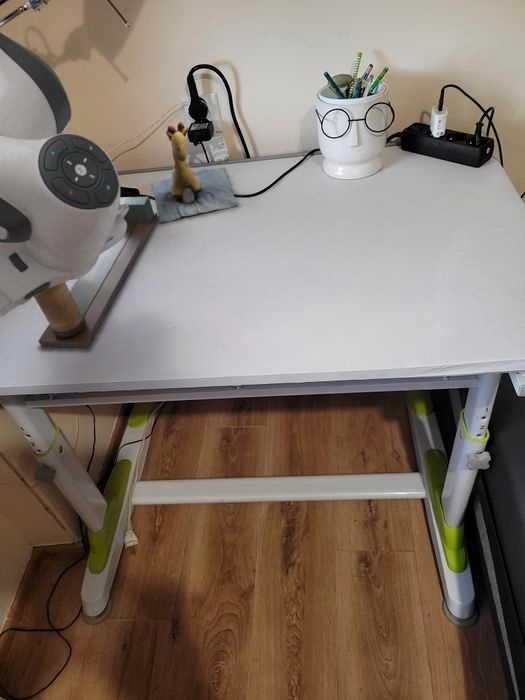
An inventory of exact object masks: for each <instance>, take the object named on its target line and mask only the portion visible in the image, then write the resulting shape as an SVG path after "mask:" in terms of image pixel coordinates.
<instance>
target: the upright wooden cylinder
mask: <svg viewBox="0 0 525 700" xmlns="http://www.w3.org/2000/svg"><path fill="white" fill-rule="evenodd" d="M70 291H71V290H70V288H69V287H68V284H67V282H64V283H62V284H59V285H56V286H53V287H50V288H48V289H46V290H44V291H42V292H40V293H38V294H37V295H35V296H33V298H34V299H35V301H36V303H37V305H38V307H39V308H40V310H41V312H42V313H43V315H44V317H45V319H46V321H47V322H48V325H49V324H50V328H51V330H52V332H53V334H54V335H55V336H57V337H61V338H66V337H70V336H73V335H75V334H77V333H78V332H80V331H81V330H82V329H83V328H84V326H85V323H86V321H85V318H84V316H83V314H82V313H81V312H80V311H79V309H78V307H77V305H76V303H75V301H74V299H73V297H72V295H71V293H70Z"/></svg>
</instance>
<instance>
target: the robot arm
mask: <svg viewBox="0 0 525 700" xmlns="http://www.w3.org/2000/svg"><path fill="white" fill-rule="evenodd" d="M71 119H72V107H71V103H70V100H69V97H68V94H67V92H66V89H65V87H64V85H63V83H62V81H61V79H60V77H59V76H58V74H57V72H55V70H54V69H53V68H52V67H51V65H49V63H48V62H46V61H45V60H44V59H43V58H42V57H40V56H39V55H38V54H36V53H34V52H33V50H30V49H29V48H27V47H25V46H24V45H22V44H20V43H19V42H17V41H16V40H15V39H12V38H11V37H9V36H7V35H5V34H4V33H2V32H1V31H0V318H2V317H4V316H6V315H7V314H8V313H10V312H12V311H13V310H15V309H16V308H18V307H19V306H22V305H24V304H26V303H28V302H29V301H30V300H32V298H34V296H35V295H37V294H38V293H40V292H42V291H44V290H46V289H48V288H50V287H53V286H56V285H59V284H62V283H64V282H65V283H67V282H68V281H73V280H78V278H80V277H82V276H84V275H85V274H87V273H88V272H89V271H90V270H91V269H92V268H93V267H94V266H95V264H96V262H97V260H98V258H99V255H100V254H101V253H103V252H104V251H106V250H107V249H109V248H111V247H112V246H114V245H115V244H117V243H118V242H119V241H120V240H121V239H122V238H123V237H124V235H125V232H126V229H127V222H126V221H125V220H124V218H123V217H124V216H125V215H126V214H127V212H128V210H129V207H128V204H126V203H123V204H120V198H121V181H120V178H119V177H120V176H119V174H118V172H117V169H116V166H115V164H114V162H113V160H112V158H111V157H110V156H109V155H108V154H107V152H106V151H105V150H104V149H103V148H102V147H101V146H100V145H99V144H98V143H96V142H95V141H93V140H92V139H89V138H88V137H85V136H83V135H81V134H77V133H71V132H70V133H67V132H66V133H65V130H66V129H67V127H68V125H69V124H70V122H71Z"/></svg>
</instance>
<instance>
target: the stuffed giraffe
mask: <svg viewBox="0 0 525 700" xmlns="http://www.w3.org/2000/svg"><path fill="white" fill-rule="evenodd" d="M188 131H189V127H185V125H184V123H183V122H182V121H179V122H178V124H177V129H176V128H175V126H173V125H168V127H167V130H166V131H165V133H166V136H167V139H168V140H169V141H170V143H171V147H172V148H171V149H172V150H171V151H172V157H173V162H174V168H173V169H172V171H171V177H170V178H167V179H162V180H159V181H153V182H152V187H153V193H154V199H155V205H156V210H157V211H156V212H157V215H158V222H159V223H165V222H173V221H175V220H176V221H177V220H179V219H181V218H182V217H188V216H194V215H198V214H200V213H208V212H212V211H216V210H225V209H230V208H234V207H236V206H238V205H239V204H238V202H237V200H236V198H235V197H236V196H235V195H234V192H233V189H232V187H231V185H230V182H229V179H228V177H227V175H226V173H225V170H224V168H223V167H220V168H205V169H201V170H199V171H194V170H193V168H191V167H190V166H189V164H188V163H187V161H186V159H187V158H188V143H187V140H186V136H187V134H188Z"/></svg>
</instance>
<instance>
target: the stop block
mask: <svg viewBox="0 0 525 700" xmlns="http://www.w3.org/2000/svg"><path fill="white" fill-rule="evenodd" d="M123 203H126V204H128V207H129V210H128V212H127V214H126V215H125V216H124V217H123V218H124V220H125V221H126V222H150V220H151V218H152V217H153V215H154V209H153V206H152V203H151V199H150V197H149V196H127V197H126V196H125V197H124V196H123V197H122V196H120V204H123Z"/></svg>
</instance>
